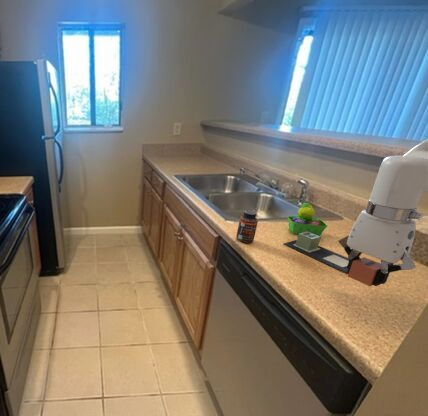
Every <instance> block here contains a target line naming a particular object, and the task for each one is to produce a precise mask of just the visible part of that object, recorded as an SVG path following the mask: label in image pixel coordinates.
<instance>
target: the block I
mask: <svg viewBox="0 0 428 416" xmlns="http://www.w3.org/2000/svg"><path fill="white" fill-rule="evenodd" d="M380 269H381V262H378V261H377V260H376V261H375V260H373V259H370V258H368V257H365V256H362V257H360V259H357V260H355V261H353V263H352V266H351V269H350V272H349V274H348V275H347V277H349V278H350V279H353V280H354V281H357V282H359V283H361V284H364V285H366V286H368V287H372V286H374V285H373V281H374V279H375V276H376V273H377V272H378V271H380Z"/></svg>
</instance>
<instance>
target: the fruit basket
mask: <svg viewBox="0 0 428 416" xmlns="http://www.w3.org/2000/svg"><path fill="white" fill-rule="evenodd" d="M315 215H316V211H315V210H314V207H313V206H312V204H311V203H309V202H304V203H302V204H301V207H300V208H299V209H298V211H297V216H293V215H288V216H287V220H288V229H289V230H290V232H291V233H292V234H293V235H298V234H299V233H303V232H310V233H313V234H315V235H318V236H320V237H321V235H322V234H323V233H324V231H325V230H326V228H327V227H328V224H326V223H325V222H324V221H323V220H322V219H321V218H317V217H314V216H315Z"/></svg>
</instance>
